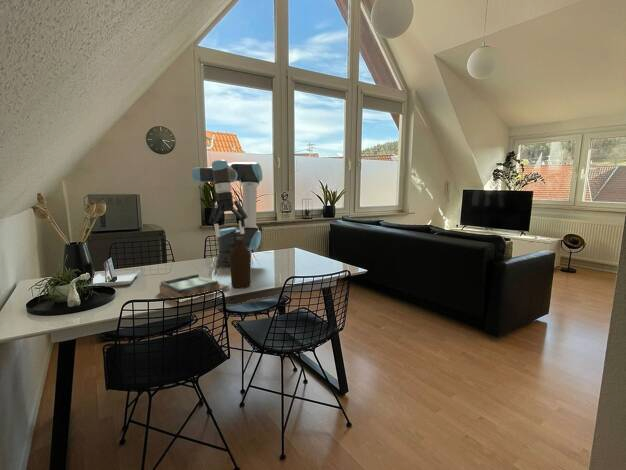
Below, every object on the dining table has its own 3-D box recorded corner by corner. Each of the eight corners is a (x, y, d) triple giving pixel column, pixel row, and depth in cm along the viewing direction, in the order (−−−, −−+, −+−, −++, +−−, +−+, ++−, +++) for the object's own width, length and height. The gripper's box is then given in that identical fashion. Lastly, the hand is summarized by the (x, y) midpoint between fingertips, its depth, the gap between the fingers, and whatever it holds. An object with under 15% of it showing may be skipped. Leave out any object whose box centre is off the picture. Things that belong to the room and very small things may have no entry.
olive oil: (252, 288, 170) (251, 238, 166) (230, 289, 168) (228, 239, 164) (250, 282, 180) (249, 235, 177) (230, 283, 178) (228, 236, 174)
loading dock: (207, 281, 181) (206, 271, 180) (228, 289, 168) (228, 278, 167) (159, 292, 163) (159, 281, 162) (179, 302, 150) (179, 290, 149)
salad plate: (85, 290, 168) (84, 283, 168) (99, 278, 189) (98, 272, 188) (132, 286, 174) (132, 280, 173) (141, 275, 194) (140, 269, 194)
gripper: (197, 196, 167) (204, 238, 169) (243, 188, 161) (249, 233, 162) (206, 196, 175) (212, 237, 176) (250, 188, 168) (256, 231, 169)
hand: (230, 235), depth 169 cm, fingers open, 13 cm apart
